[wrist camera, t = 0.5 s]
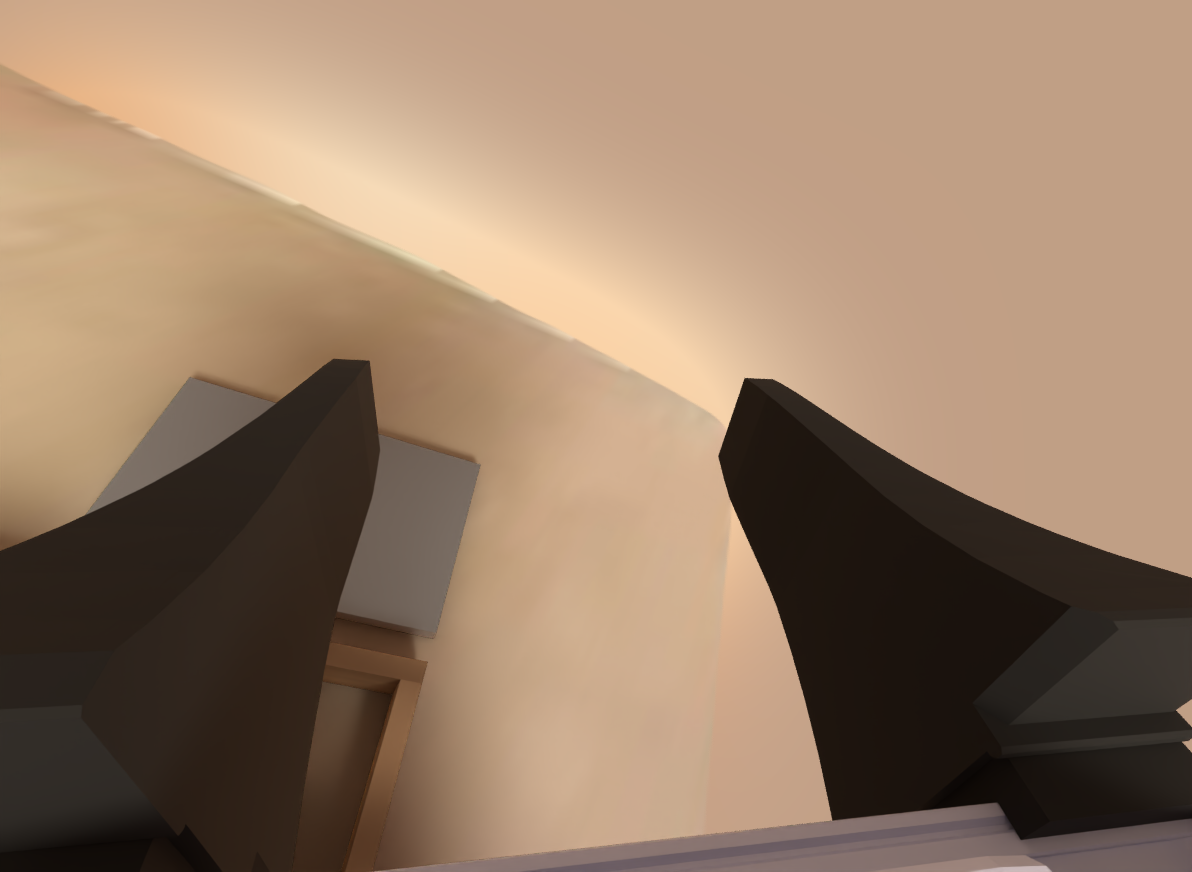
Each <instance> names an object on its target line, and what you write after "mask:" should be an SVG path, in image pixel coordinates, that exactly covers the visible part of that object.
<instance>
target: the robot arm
mask: <svg viewBox="0 0 1192 872" xmlns="http://www.w3.org/2000/svg"><path fill="white" fill-rule="evenodd" d="M379 455H380V444H379V435H378V427H377V419H376V411H375V402H374V394H373V386H372V378H371V369H370V361H365V360H343V359H333V360H331V361H330V362H328V363H327V364H326V365H324V366H323V367H322V368H321V369H319V370H318V371H317V372H315V373H314V374H313V375H312V376H310V377H309V378H308V379H307V380H305V381H304V382H303V383H302V384H300V385H299V386H298V387H297V388H295V389H294V390H293V391H292V392H290V393H289V394H288V395H286V396H285V397H284V398H282V399H281V400H280V401H279V402H277V403H276V404H275V405H273V406H272V407H271V408H269V409H268V410H267V411H265V412H264V413H263V414H261V415H260V416H259V417H257V418H256V419H254V420H253V421H251V422H250V423H248V424H247V425H245V426H244V427H242V428H241V429H240V430H238V431H237V432H235V433H234V434H232V435H231V436H229V437H228V438H226V439H225V440H223V441H222V442H221V443H219V444H218V445H216V446H215V447H213V448H212V449H210V450H208V451H207V452H205V453H204V454H202V455H200V456H199V457H197V458H195V459H194V460H192V461H190V462H189V463H187V464H185V465H183V466H182V467H180V468H178V469H176V470H174V471H173V472H171V473H169V474H167V475H165V476H164V477H162V478H160V479H158V480H156V481H155V482H153V483H151V484H149V485H147V486H145V487H143V488H141V489H139V490H137V491H135V492H133V493H131V494H129V495H127V496H125V497H123V498H120V499H118V500H116V501H114V502H112V503H110V504H108V505H106V506H104V507H101V508H99V509H97V510H95V511H93V512H91V513H89V514H87V515H85V516H82V517H80V518H78V519H76V520H74V521H72V522H70V523H67V524H65V525H63V526H61V527H58V528H56V529H53V530H51V531H49V532H46V533H44V534H41V535H39V536H37V537H34V538H32V539H29V540H27V541H25V542H22V543H20V544H17V545H15V546H12V547H10V548H7V549H4V550H2V551H0V872H292V865H293V858H294V851H295V844H296V837H297V831H298V824H299V817H300V810H301V803H302V797H303V791H304V784H305V778H306V772H307V766H308V760H309V754H310V748H311V742H312V736H313V730H314V724H315V719H316V713H317V708H318V702H319V697H320V691H321V686H322V680H323V675H324V670H325V665H326V660H327V655H328V650H329V645H330V640H331V635H332V630H333V625H334V620H335V617H336V613H337V609H338V605H339V602H340V598H341V595H342V592H343V588H344V585H345V582H346V579H347V576H348V573H349V570H350V566H351V563H352V560H353V557H354V554H355V551H356V548H357V545H358V541H359V538H360V535H361V532H362V529H363V526H364V522H365V519H366V516H367V513H368V509H369V506H370V503H371V500H372V496H373V491H374V485H375V480H376V474H377V468H378V461H379ZM718 457H719V461H720V465H721V469H722V473H723V477H724V481H725V484H726V487H727V491H728V494H729V498H730V500H731V502H732V505H733V507H734V509H735V512H736V514H737V516H738V519H739V521H740V523H741V525H742V528H743V530H744V532H745V534H746V537H747V539H748V541H749V543H750V546H751V548H752V550H753V552H754V554H755V557H756V559H757V561H758V563H759V566H760V568H761V570H762V572H763V575H764V577H765V579H766V581H767V583H768V586H769V588H770V591H771V593H772V596H773V598H774V601H775V603H776V606H777V608H778V612H779V614H780V618H781V621H782V624H783V627H784V630H785V633H786V637H787V639H788V643H789V646H790V649H791V652H792V656H793V660H794V663H795V666H796V670H797V673H798V677H799V680H800V684H801V688H802V690H803V695H804V698H805V702H806V706H807V710H808V714H809V718H810V722H811V726H812V730H813V734H814V738H815V742H816V746H817V750H818V754H819V759H820V764H821V768H822V773H823V778H824V782H825V787H826V792H827V796H828V801H829V806H830V811H831V816H832V821H826V822H816V823H807V824H798V825H789V826H780V827H771V828H762V829H753V830H744V831H735V832H725V833H716V834H707V835H698V836H689V837H680V838H671V839H662V840H653V841H644V842H635V843H626V844H617V845H608V846H599V847H590V848H581V849H572V850H563V851H554V852H545V853H536V854H527V855H518V856H508V857H499V858H490V859H481V860H472V861H463V862H454V863H445V864H436V865H427V866H418V867H409V868H400V869H391V870H382V871H373V872H1192V753H1191V751H1190V750H1189V749H1188V748H1187V747H1186V746H1185V745H1184V744H1183V743H1182V741H1189V740H1190V739H1191V738H1192V727H1191V726H1190V725H1189V724H1188V723H1187V722H1186V721H1185V719H1184V718H1182V716H1181V715H1180V714H1179V713H1178V712H1177V711H1176V709H1178V708H1179V707H1181V706H1182V705H1184V704H1185V703H1187V702H1188V701H1189V700H1191V699H1192V578H1191V577H1187V576H1184V575H1181V574H1178V573H1174V572H1171V571H1168V570H1165V569H1161V568H1158V567H1155V566H1151V565H1148V564H1145V563H1141V562H1138V561H1135V560H1132V559H1129V558H1125V557H1122V556H1118V555H1116V554H1113V553H1110V552H1106V551H1104V550H1101V549H1098V548H1095V547H1092V546H1090V545H1087V544H1084V543H1081V542H1079V541H1076V540H1073V539H1070V538H1068V537H1065V536H1062V535H1059V534H1056V533H1054V532H1051V531H1049V530H1046V529H1044V528H1041V527H1038V526H1036V525H1034V524H1031V523H1029V522H1026V521H1024V520H1021V519H1019V518H1016V517H1015V516H1012V515H1010V514H1008V513H1005V512H1003V511H1001V510H998V509H996V508H993V507H991V506H989V505H987V504H984V503H982V502H980V501H978V500H976V499H974V498H972V497H970V496H967V495H965V494H963V493H961V492H959V491H957V490H955V489H954V488H952V487H950V486H948V485H946V484H944V483H942V482H940V481H938V480H936V479H934V478H932V477H930V476H928V475H926V474H924V473H923V472H921V471H919V470H917V469H915V468H914V467H912V466H910V465H908V464H907V463H905V462H903V461H902V460H900V459H898V458H896V457H895V456H893V455H891V454H890V453H888V452H887V451H885V450H883V449H881V448H880V447H878V446H877V445H875V444H873V443H872V442H870V441H869V440H867V439H866V438H864V437H863V436H861V435H859V434H858V433H856V432H855V431H853V430H852V429H850V428H849V427H847V426H846V425H844V424H843V423H841V422H840V421H838V420H837V419H835V418H834V417H832V416H831V415H829V414H828V413H826V412H825V411H823V410H822V409H820V408H819V407H817V406H816V405H814V404H813V403H811V402H810V401H808V400H807V399H805V398H804V397H802V396H801V395H799V394H797V393H796V392H794V391H793V390H791V389H789V388H788V387H786V386H784V385H783V384H781V383H779V382H777V381H775V380H773V379H754V378H745V379H744V382H743V385H742V388H741V391H740V394H739V397H738V399H737V402H736V405H735V408H734V412H733V414H732V417H731V420H730V423H729V427H728V429H727V432H726V435H725V438H724V441H723V444H722V447H721V450H720V453H719V456H718Z"/></svg>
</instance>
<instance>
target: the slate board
mask: <svg viewBox="0 0 1192 872" xmlns="http://www.w3.org/2000/svg"><path fill="white" fill-rule="evenodd" d="M275 404H276V403H274V402H271V401H267V400H264V399H261V398H257V397H254V396H251V395H247V394H244V393H241V392H238V391H234V390H231V389H228V388H224V387H221V386H218V385H214V384H211V383H208V382H204V381H201V380H198V379H194V378H191V377H190V378H189V379H188V380H187V381H186V383H185V384H184V385H183V387H182V388H181V389H180V391H179V392H178V393H177V395H176V396H175V397H174V399H173V400H172V401H171V403H170V404H169V405H168V407H167V408H166V409H165V411H164V412H163V413H162V415H161V416H160V417H159V418H158V420H157V421H156V422H155V424H154V425H153V426H152V428H151V429H150V430H149V432H148V433H147V434H146V436H145V437H144V438H143V440H142V441H141V442H140V444H139V445H138V446H137V448H136V449H135V450H134V451H133V453H132V454H131V455H130V457H129V458H128V459H127V461H126V462H125V463H124V465H123V466H122V467H121V469H120V470H119V471H118V473H117V474H116V475H115V477H114V478H113V479H112V481H111V482H110V483H109V485H108V486H107V487H106V488H105V490H104V491H103V492H102V494H101V495H100V496H99V498H98V499H97V500H96V502H95V503H94V504H93V506H92V507H91V508H90V510H89V511H88V512H87V514H89V513H91V512H93V511H95V510H97V509H99V508H101V507H104V506H106V505H108V504H110V503H112V502H114V501H116V500H118V499H120V498H123V497H125V496H127V495H129V494H131V493H133V492H135V491H137V490H139V489H141V488H143V487H145V486H147V485H149V484H151V483H153V482H155V481H156V480H158V479H160V478H162V477H164V476H165V475H167V474H169V473H171V472H173V471H174V470H176V469H178V468H180V467H182V466H183V465H185V464H187V463H189V462H190V461H192V460H194V459H195V458H197V457H199V456H200V455H202V454H204V453H205V452H207V451H208V450H210V449H212V448H213V447H215V446H216V445H218V444H219V443H221V442H222V441H223V440H225V439H226V438H228V437H229V436H231V435H232V434H234V433H235V432H237V431H238V430H240V429H241V428H242V427H244V426H245V425H247V424H248V423H250V422H251V421H253V420H254V419H256V418H257V417H259V416H260V415H261V414H263V413H264V412H265V411H267V410H268V409H269V408H271V407H272V406H273V405H275ZM378 435H379V444H380V455H379V461H378V468H377V474H376V480H375V485H374V491H373V496H372V500H371V503H370V506H369V509H368V513H367V516H366V519H365V522H364V526H363V529H362V532H361V535H360V538H359V541H358V545H357V548H356V551H355V554H354V557H353V560H352V563H351V566H350V570H349V573H348V576H347V579H346V582H345V585H344V588H343V592H342V595H341V598H340V602H339V605H338V609H337V613H336V618H340V619H345V620H349V621H354V622H359V623H363V624H368V625H372V626H377V627H382V628H386V629H391V630H396V631H400V632H405V633H409V634H414V635H419V636H423V637H428V638H432V639H433V638H434V636H435V634H436V632H437V628H438V625H439V621H440V617H441V613H442V609H443V606H444V602H445V598H446V594H447V590H448V587H449V583H450V579H451V575H452V571H453V568H454V564H455V560H456V556H457V552H458V549H459V545H460V541H461V537H462V533H463V530H464V526H465V522H466V518H467V514H468V511H469V507H470V503H471V499H472V495H473V491H474V488H475V484H476V480H477V476H478V472H479V469H480V464H477V463H473V462H470V461H467V460H463V459H460V458H457V457H454V456H450V455H447V454H444V453H440V452H437V451H434V450H430V449H427V448H424V447H420V446H417V445H414V444H410V443H407V442H404V441H400V440H397V439H394V438H390V437H387V436H384V435H380V434H378ZM87 514H86V515H87Z"/></svg>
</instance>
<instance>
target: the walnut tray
mask: <svg viewBox="0 0 1192 872" xmlns="http://www.w3.org/2000/svg"><path fill="white" fill-rule="evenodd" d="M427 663H428V662H426V661H421V660H416V659H411V658H406V657H401V656H397V655H392V654H387V653H382V652H377V651H372V650H367V649H363V648H358V647H353V646H348V645H343V644H338V643H334V642H330V645H329V650H328V655H327V660H326V665H325V670H324V675H323V680H322V681H323V682H329V683H334V684H339V685H345V686H350V687H355V688H361V689H366V690H371V691H376V692H382V693H387V694H392V698H391V701H390V705H389V708H388V711H387V715H386V718H385V722H384V725H383V729H382V732H381V735H380V739H379V742H378V746H377V749H376V753H375V756H374V759H373V763H372V766H371V770H370V773H369V777H368V780H367V783H366V787H365V790H364V794H363V797H362V801H361V804H360V807H359V811H358V814H357V818H356V821H355V824H354V828H353V831H352V835H351V838H350V842H349V845H348V848H347V852H346V855H345V859H344V862H343V866H342V869H341V872H372V871H373V867H374V863H375V859H376V856H377V852H378V848H379V844H380V841H381V837H382V833H383V829H384V825H385V822H386V818H387V814H388V810H389V806H390V803H391V799H392V795H393V791H394V788H395V784H396V780H397V776H398V772H399V769H400V765H401V761H402V757H403V753H404V750H405V746H406V742H407V738H408V734H409V731H410V727H411V723H412V719H413V716H414V712H415V708H416V704H417V700H418V697H419V693H420V689H421V685H422V681H423V678H424V674H425V670H426V666H427Z"/></svg>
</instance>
